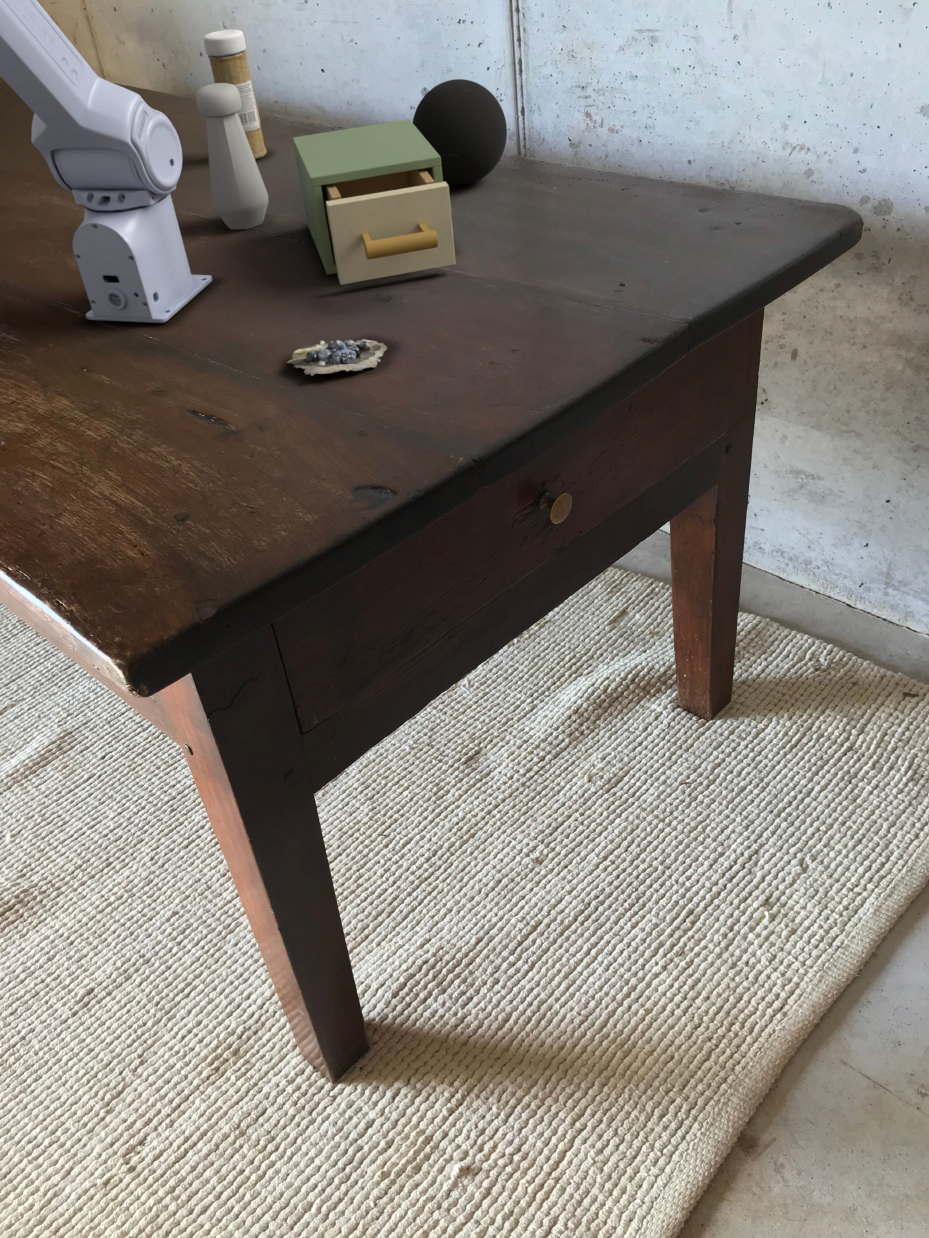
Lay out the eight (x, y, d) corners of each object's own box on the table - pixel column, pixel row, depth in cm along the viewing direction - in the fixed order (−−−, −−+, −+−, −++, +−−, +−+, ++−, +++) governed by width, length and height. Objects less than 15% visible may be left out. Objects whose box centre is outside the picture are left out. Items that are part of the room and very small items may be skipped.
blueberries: (274, 363, 81) (269, 341, 79) (359, 330, 84) (356, 308, 83) (319, 392, 76) (314, 368, 75) (406, 356, 80) (403, 333, 78)
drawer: (467, 281, 88) (460, 200, 83) (348, 303, 86) (334, 221, 82) (425, 220, 100) (418, 146, 96) (321, 238, 99) (308, 164, 94)
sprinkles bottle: (265, 149, 127) (241, 26, 119) (268, 159, 124) (243, 33, 115) (229, 154, 127) (202, 32, 118) (230, 165, 123) (203, 39, 115)
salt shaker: (261, 232, 104) (231, 93, 96) (209, 233, 105) (175, 95, 97) (280, 212, 108) (253, 77, 100) (230, 213, 109) (199, 79, 101)
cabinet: (449, 253, 95) (440, 156, 90) (327, 275, 94) (310, 177, 88) (419, 208, 106) (409, 119, 100) (308, 227, 104) (292, 137, 98)
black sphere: (399, 185, 112) (387, 84, 105) (471, 161, 116) (464, 64, 110) (454, 204, 106) (445, 99, 99) (528, 179, 110) (524, 76, 103)
